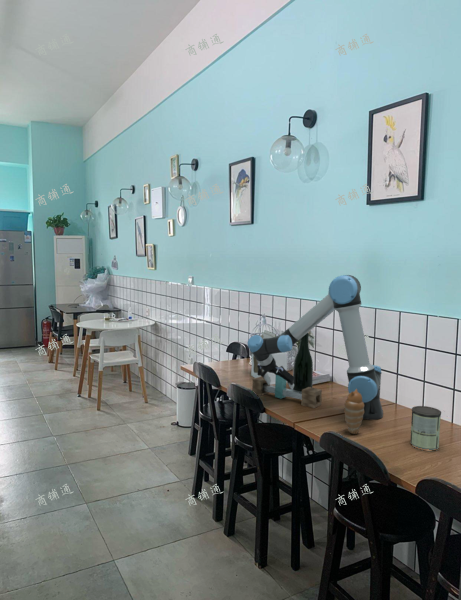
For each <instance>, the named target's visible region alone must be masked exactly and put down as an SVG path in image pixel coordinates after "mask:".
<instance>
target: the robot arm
mask: <svg viewBox="0 0 461 600" xmlns="http://www.w3.org/2000/svg"><path fill="white" fill-rule="evenodd" d="M361 290H362V285H361V283H360V281H359V279H358V278H357V277H356V276H354V275H350V274H343V275H338V276H336V277H335V278H333V279H332V280H331V282H330V283H329V286H328V291H327V295H326V296H325V297H323V298H322V299H321V300H320V301H319V302H317V303H316V304H315V305H314V306H313V307H312V308H310V309H309V310H308V311H307V312H305V314H303V315H302V316H301V317H300V318H299V319H298V320H296V321H295V322H293V324H291V325H290V326H289V327H288V328H287V329H285V331H283V332H282V333H280V334H278V335H276V337H272V338H265V339H262V338H261V335H258V334H255V335H252V336H250V337H249V339H247V344H246V345H247V347H248V349H249V351H250V352H251V355H252V354H253V355H254V357H255V358H256V360H257V361H258V363H259V364H258V366H257V367H258V375H259V376H260V375H261V376H262V377H263V378H264V379H265V381H266V382H267V384H268V385H269V384H270V382H271V379H270V377H269V376H268V374H267V372H269V373H274V374H275V375H279V376H280V377H282V378H283V379H285V380H286V381H287V383H286V384H287V385H288V386H289V389H291V390H293V387H294V384H293V380H294V377H293V374H291V373H290V372H289V371H288V370H287V371H286V370H285V369H284V368H283V366H281V367H278V366H277V365H276V361H275V359H274V358H273V356H272V354H275V353H282V352H283V353H285V352H287V353H288V352H291V351H292V349H293V347H294V345H295V344H297V342H299V341H300V339H301V338H302V337H303V336H304V335H306V334H307V333H309V332H311V330H313V329H314V328H315V327H317V326H318V325H319V324H320V323H321V322H322V321H323V320H325V319H326V318H327V317H329V316H330V315H331V314H332V313H334V312H335V311H336V312H338V317H339V321H340V326H341V332H342V335H343V336H342V337H343V341H344V346H345V352H346V356H347V361H348V368H347V369H346V375H347V380H348V384H347V390H348V391H347V392H348V395H349V394H350V393H351V392H352V391H353V392H354V391H355V390H356V389H357V390H358V392H359V393H360V394H361V395H362V402H363V403H364V414H363V419H362V420H371V421H373V420H375V421H376V420H380V419H382V418H383V416H384V410H383V407H382V403H381V398H380V397H381V383H382V381H381V380H382V367H381V366H379V365H375V364H371V362H370V358H369V353H368V352H369V351H368V348H367V344H366V340H365V339H366V338H365V333H364V328H363V324H362V318H361V313H360V307H361V306H362V300H361V299H362V298H361V295H360V294H361ZM262 369H263V370H264V371H263V372H262ZM277 370H278V372H277ZM276 372H277V373H276Z"/></svg>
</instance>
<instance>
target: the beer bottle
mask: <svg viewBox="0 0 461 600" xmlns="http://www.w3.org/2000/svg"><path fill="white" fill-rule="evenodd" d="M309 336H310V333H309V332H308V333H307V334H306V335H304V336H303V337H302V338H301V339H299V347H298V350H297V352H296V355H295V358H294V361H293V370H292V371H293V372H292V376H293V377H294V380H293V384H294V387H293V390H296V391H301V392H302V390H303V389H305V388H307V387H312V388H313V381H314V380H313V379H314V364H313V362H314V361H313V357H312V354H311V351H310V348H309V347H310V346H309V338H310V337H309Z"/></svg>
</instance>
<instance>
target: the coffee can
mask: <svg viewBox="0 0 461 600" xmlns="http://www.w3.org/2000/svg"><path fill="white" fill-rule="evenodd" d="M441 415H442V411H441V410H440V409H438V408H436V407H432V406H426V405H425V406H424V405H416V406H413V407H411V426H410V442H409V444H410V443H411V444H412V445H413V446H415V447H418V448H422V449H429V450H434V449H438V448H439V449H440V431H441V417H442V416H441ZM439 449H438V450H439Z"/></svg>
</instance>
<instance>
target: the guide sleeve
mask: <svg viewBox="0 0 461 600" xmlns="http://www.w3.org/2000/svg"><path fill="white" fill-rule="evenodd" d="M322 391H323V390H322V389H321V388H316V387H313V386H312V387H307V388H305V389H303V390H302V400H301V404H300V405H301V406H304V407H309V408H312V409H315V408H318V407H320V406H321V405H322Z"/></svg>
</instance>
